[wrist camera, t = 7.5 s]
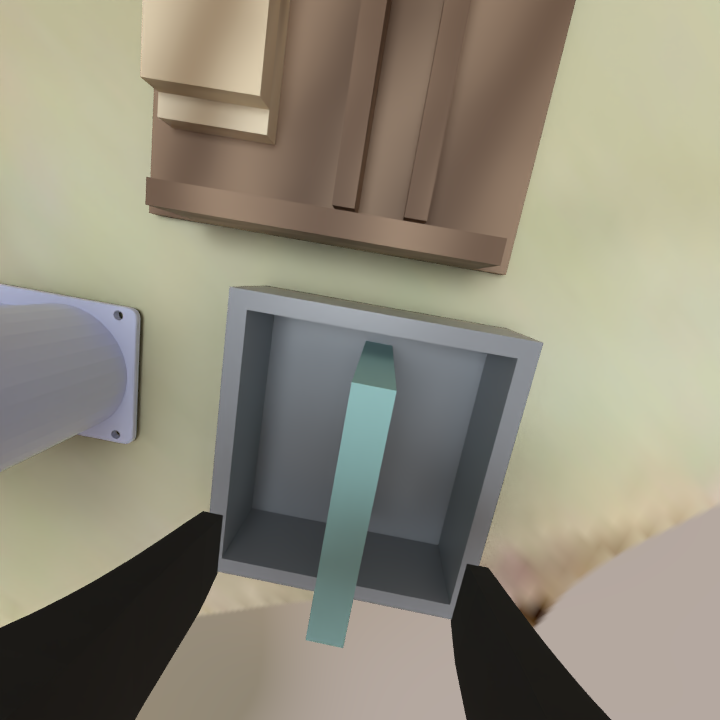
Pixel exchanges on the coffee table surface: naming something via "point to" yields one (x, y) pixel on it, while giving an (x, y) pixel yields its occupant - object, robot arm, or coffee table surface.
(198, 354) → the coffee table surface
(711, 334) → the coffee table surface
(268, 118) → the offcut lower
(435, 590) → the tote
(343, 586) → the sheet
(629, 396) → the coffee table surface
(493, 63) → the rack
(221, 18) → the offcut upper
